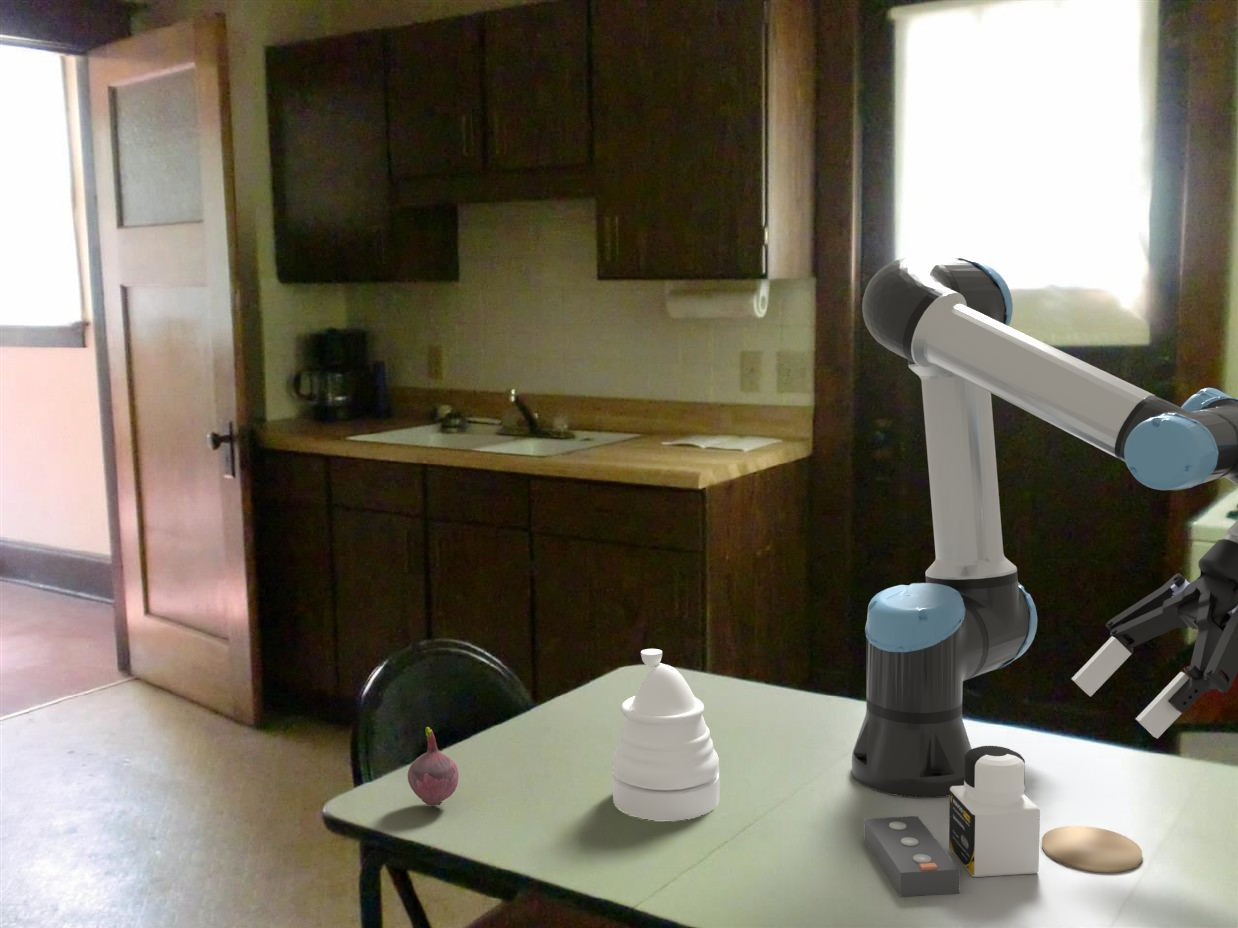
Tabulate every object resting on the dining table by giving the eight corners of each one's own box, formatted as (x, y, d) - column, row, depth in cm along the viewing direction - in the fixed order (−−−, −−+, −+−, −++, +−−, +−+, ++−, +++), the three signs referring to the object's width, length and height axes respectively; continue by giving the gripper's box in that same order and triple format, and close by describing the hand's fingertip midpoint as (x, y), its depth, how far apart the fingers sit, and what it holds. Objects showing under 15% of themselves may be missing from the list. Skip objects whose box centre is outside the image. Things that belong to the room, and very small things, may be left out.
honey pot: (590, 801, 145) (587, 656, 142) (660, 771, 154) (658, 634, 152) (672, 831, 136) (669, 677, 134) (741, 796, 145) (740, 652, 143)
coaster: (1029, 856, 128) (1030, 851, 128) (1056, 823, 136) (1056, 818, 136) (1129, 880, 122) (1129, 875, 122) (1151, 844, 130) (1151, 839, 130)
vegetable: (434, 793, 148) (431, 715, 147) (471, 804, 145) (468, 724, 143) (398, 810, 143) (394, 729, 142) (435, 821, 140) (432, 739, 138)
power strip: (864, 840, 132) (864, 815, 132) (917, 837, 133) (917, 813, 133) (900, 896, 120) (900, 869, 119) (959, 892, 120) (959, 866, 120)
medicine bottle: (947, 848, 130) (949, 741, 129) (1011, 844, 131) (1013, 738, 129) (972, 878, 123) (974, 766, 122) (1039, 874, 124) (1042, 762, 122)
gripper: (1359, 612, 114) (1203, 774, 114) (1206, 560, 138) (1079, 693, 139) (1309, 559, 112) (1152, 723, 113) (1164, 517, 137) (1035, 651, 138)
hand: (1111, 707), depth 126 cm, fingers open, 13 cm apart
